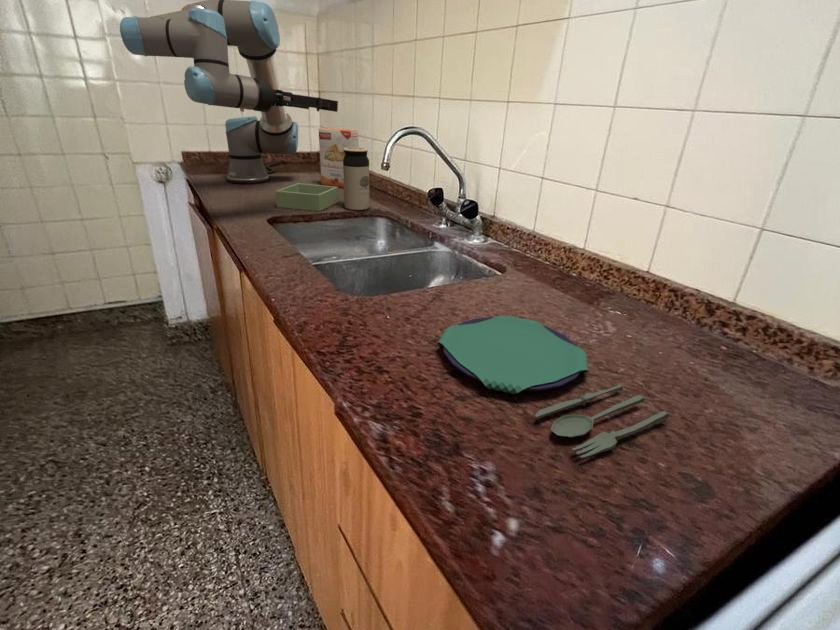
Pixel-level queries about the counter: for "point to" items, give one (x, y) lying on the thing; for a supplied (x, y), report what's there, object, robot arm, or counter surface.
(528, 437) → the counter surface
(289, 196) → the crate
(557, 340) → the cutlery set
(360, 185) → the travel mug
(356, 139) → the cracker box
